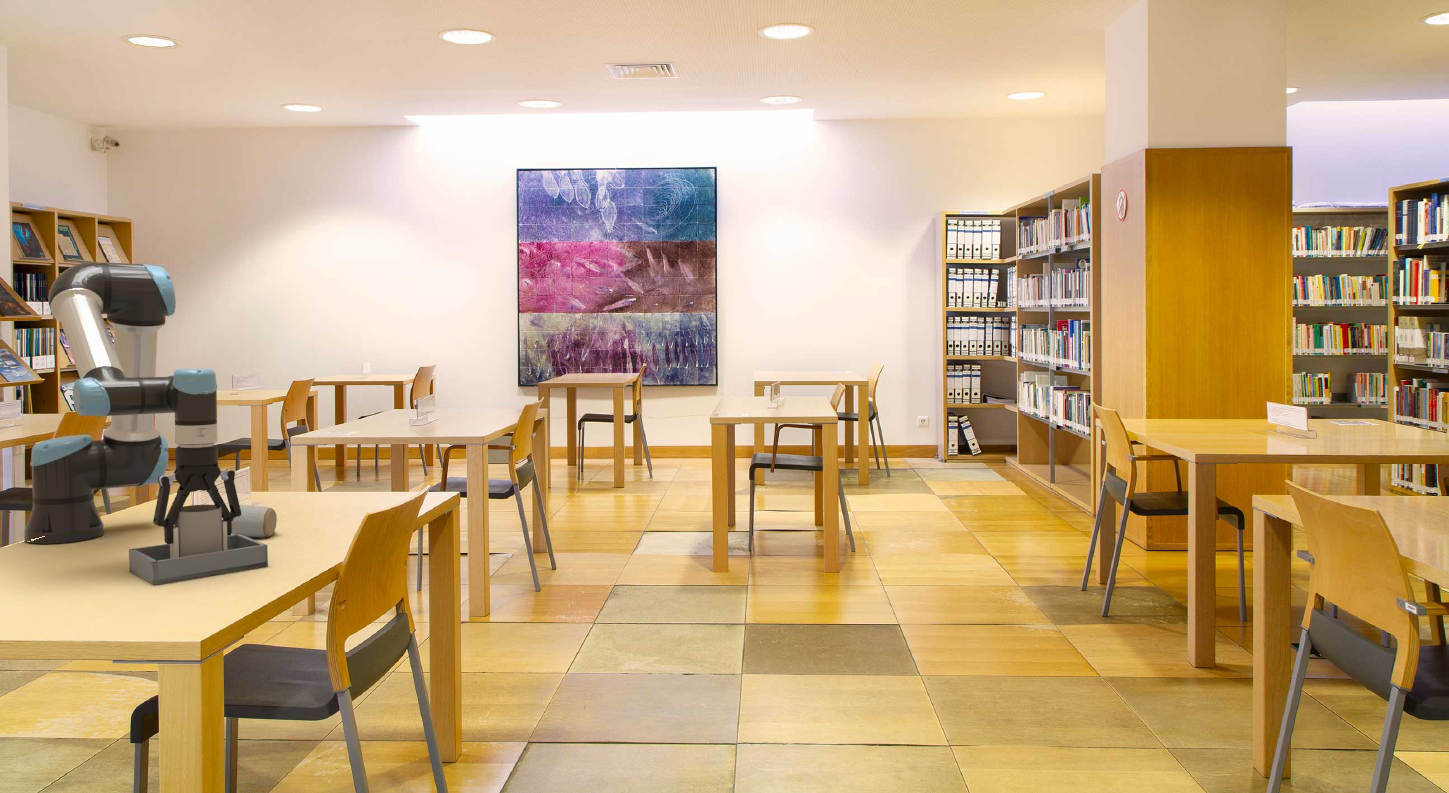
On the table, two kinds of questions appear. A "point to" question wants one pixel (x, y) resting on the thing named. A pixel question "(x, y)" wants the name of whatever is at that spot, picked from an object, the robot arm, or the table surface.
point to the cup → (199, 530)
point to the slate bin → (197, 561)
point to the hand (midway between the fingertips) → (199, 555)
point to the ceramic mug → (255, 522)
